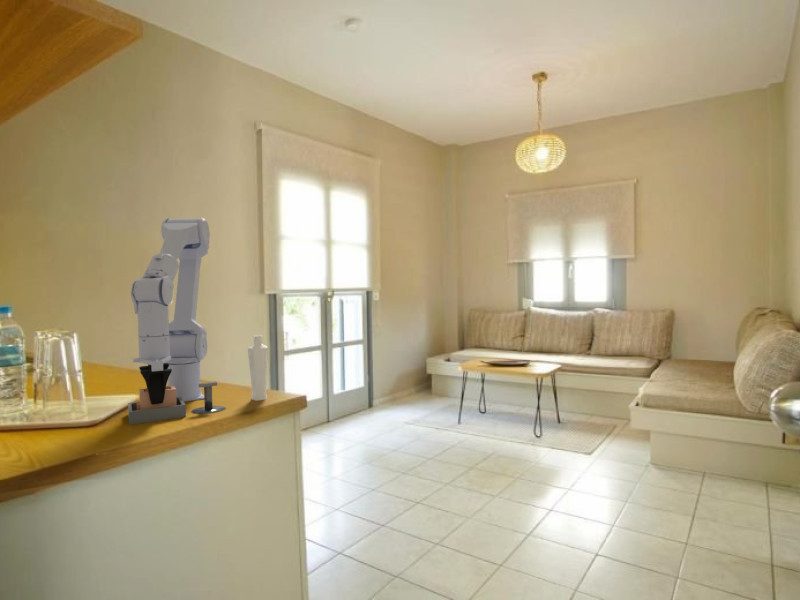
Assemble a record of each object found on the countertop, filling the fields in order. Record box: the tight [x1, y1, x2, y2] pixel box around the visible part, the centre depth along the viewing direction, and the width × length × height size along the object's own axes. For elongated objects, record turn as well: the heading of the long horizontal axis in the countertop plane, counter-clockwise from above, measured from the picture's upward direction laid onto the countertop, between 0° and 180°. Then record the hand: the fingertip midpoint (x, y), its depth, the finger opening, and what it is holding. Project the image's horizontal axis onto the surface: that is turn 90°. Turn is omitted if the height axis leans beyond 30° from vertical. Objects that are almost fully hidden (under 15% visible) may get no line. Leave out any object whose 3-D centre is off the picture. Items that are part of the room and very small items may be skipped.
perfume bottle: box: [247, 335, 269, 402], centre depth 116 cm, size 5×4×15 cm
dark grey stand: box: [190, 381, 227, 415], centre depth 106 cm, size 7×7×6 cm
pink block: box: [137, 385, 177, 410], centre depth 102 cm, size 7×4×4 cm, turn 120°
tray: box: [127, 397, 187, 425], centre depth 102 cm, size 9×10×3 cm
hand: (156, 401), depth 102 cm, fingers open, 4 cm apart
